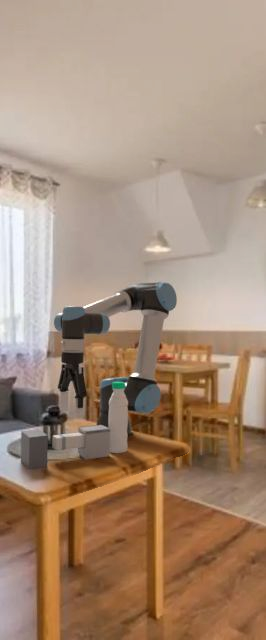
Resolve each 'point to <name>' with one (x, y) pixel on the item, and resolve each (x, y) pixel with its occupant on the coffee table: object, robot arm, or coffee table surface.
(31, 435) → the socket fitting
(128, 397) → the robot arm
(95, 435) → the sleeve
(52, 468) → the coffee table surface
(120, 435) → the water bottle
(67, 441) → the tube
